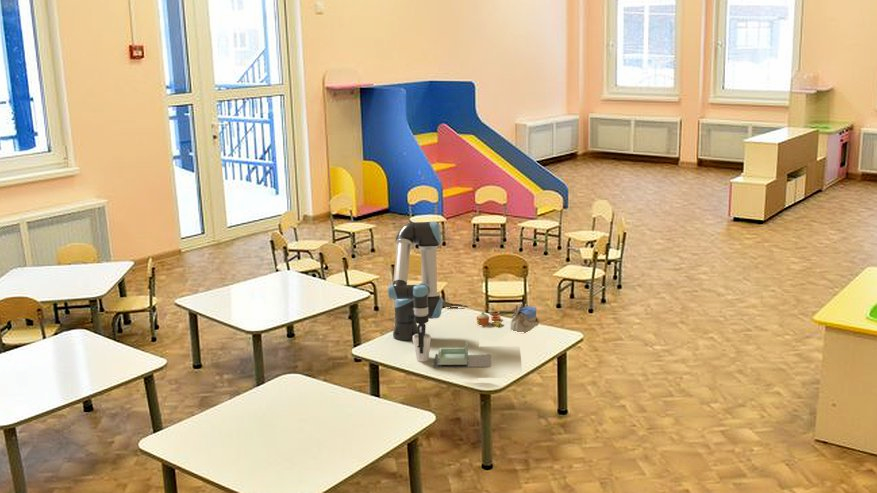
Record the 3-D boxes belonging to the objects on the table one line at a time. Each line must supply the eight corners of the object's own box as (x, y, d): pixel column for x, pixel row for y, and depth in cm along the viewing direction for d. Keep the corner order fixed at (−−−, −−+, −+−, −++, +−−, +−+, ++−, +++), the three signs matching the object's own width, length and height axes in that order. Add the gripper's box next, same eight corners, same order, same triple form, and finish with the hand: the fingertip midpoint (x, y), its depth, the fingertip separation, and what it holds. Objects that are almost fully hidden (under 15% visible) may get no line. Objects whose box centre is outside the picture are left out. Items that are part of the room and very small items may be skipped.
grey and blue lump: (521, 320, 519) (521, 294, 516) (547, 323, 512) (546, 297, 508) (504, 333, 496) (504, 306, 493) (531, 336, 489) (531, 308, 486)
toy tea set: (503, 330, 502) (503, 314, 500) (477, 331, 502) (476, 315, 500) (501, 317, 527) (501, 302, 525) (475, 318, 528) (475, 302, 526)
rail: (435, 355, 461) (435, 353, 460) (490, 355, 459) (490, 353, 458) (433, 367, 443) (433, 365, 443) (490, 367, 441) (490, 364, 441)
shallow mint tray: (439, 354, 460) (439, 341, 459) (468, 354, 459) (467, 341, 458) (437, 366, 443) (437, 352, 442) (467, 365, 442) (466, 352, 441)
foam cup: (432, 356, 460) (431, 333, 457) (430, 362, 451) (429, 338, 448) (414, 356, 461) (413, 333, 458) (412, 362, 451) (411, 338, 449)
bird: (470, 312, 538) (469, 297, 536) (466, 316, 531) (466, 300, 529) (442, 310, 544) (442, 295, 542) (438, 314, 537) (438, 298, 535)
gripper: (415, 308, 462) (417, 349, 466) (412, 320, 440) (413, 362, 445) (429, 308, 461) (431, 348, 466) (426, 320, 440) (428, 362, 444)
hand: (422, 355), depth 455 cm, fingers closed on foam cup, 9 cm apart
